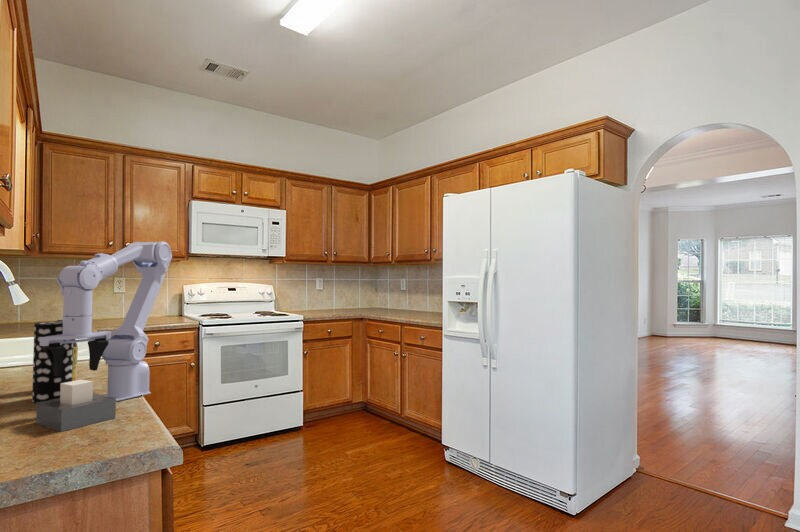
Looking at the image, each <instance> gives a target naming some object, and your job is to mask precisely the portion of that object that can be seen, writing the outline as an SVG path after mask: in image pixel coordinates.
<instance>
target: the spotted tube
mask: <svg viewBox="0 0 800 532" xmlns="http://www.w3.org/2000/svg"><path fill="white" fill-rule="evenodd" d="M33 328H34V329H33V361H32V362H33V363H32V390H31V391H32V394H31V396H32V397H31V402H32V403H34V404H37V402H42V401H47V400H53V399H58V398H60V387H61V383H66V382H71V381H72V365H73V343H65V344H60V345H62V347H65V351H64V355H63V362H62V376H54V372H53V368H52V365H51V362H50V360H49V358H48V356H47V354H46V352H45V351H44V350H43V346H40V337H46V336H54V335H61V334H63V321H58V322H57V321H45V322H44V321H43V322H35V323H34V325H33ZM71 340H73V339H70V341H71Z"/></svg>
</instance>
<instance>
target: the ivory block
mask: <svg viewBox="0 0 800 532" xmlns="http://www.w3.org/2000/svg"><path fill="white" fill-rule="evenodd" d="M93 385H94V381H92V380H85V379H76V381H71V382H66V383H61V387H60V404H63V405H67V406H71V405H75V404H80V403H85V402H90V401H93V393H94V390H93V389H94V386H93Z"/></svg>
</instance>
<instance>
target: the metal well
mask: <svg viewBox="0 0 800 532" xmlns="http://www.w3.org/2000/svg"><path fill="white" fill-rule="evenodd" d="M104 395H105V394H99V393H95V392H93V401H90V402H85V403H80V404H75V405H71V406H67V405H63V404H60V398H58V399H53V400H47V401H42V402H37V403H36V413H35V415H36V416H35V423H36V424H37V425H40V426H43V427H46V428H48V427H49V429H52V430H55V431H56V432H57V431H58V432H61V433H62V432H66V431H69V430H73V429H78V428H82V427H86V426H90V425H94V424H99V423H102V422H105V421H109V420H113V419H114V420H115V419H116V415H117V414H116V408H117V407H116V406H117V401H116V398H112V397H108V396H104Z"/></svg>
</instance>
